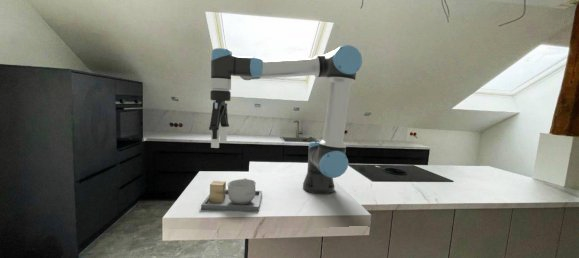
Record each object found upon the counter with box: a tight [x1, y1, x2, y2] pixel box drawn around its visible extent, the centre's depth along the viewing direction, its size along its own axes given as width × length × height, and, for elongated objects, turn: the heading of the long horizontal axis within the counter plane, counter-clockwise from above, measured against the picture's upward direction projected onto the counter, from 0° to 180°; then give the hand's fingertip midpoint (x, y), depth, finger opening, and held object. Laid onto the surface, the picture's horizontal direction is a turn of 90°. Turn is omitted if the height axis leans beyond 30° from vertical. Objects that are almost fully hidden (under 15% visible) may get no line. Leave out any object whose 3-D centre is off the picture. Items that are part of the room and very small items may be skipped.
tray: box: [200, 188, 263, 212], centre depth 105 cm, size 21×18×2 cm
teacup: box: [227, 177, 257, 205], centre depth 105 cm, size 14×11×8 cm
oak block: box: [209, 180, 227, 202], centre depth 104 cm, size 5×5×7 cm
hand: (219, 144), depth 103 cm, fingers open, 13 cm apart
